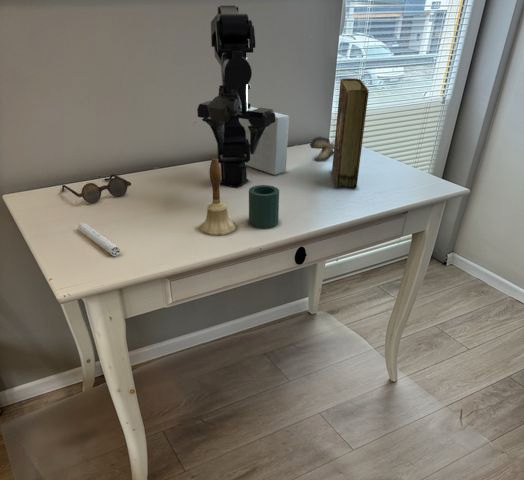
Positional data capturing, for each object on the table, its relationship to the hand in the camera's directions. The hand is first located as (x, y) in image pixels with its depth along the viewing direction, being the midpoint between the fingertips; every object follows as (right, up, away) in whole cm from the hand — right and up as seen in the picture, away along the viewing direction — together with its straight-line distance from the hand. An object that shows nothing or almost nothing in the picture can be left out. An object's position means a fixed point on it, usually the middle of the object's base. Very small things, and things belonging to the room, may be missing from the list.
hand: (236, 151), depth 122 cm
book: (+30, +1, +23) cm, 38 cm away
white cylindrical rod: (-31, -25, -11) cm, 41 cm away
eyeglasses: (-39, -6, +13) cm, 42 cm away
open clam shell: (+27, +14, +40) cm, 50 cm away
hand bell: (-4, -21, -5) cm, 22 cm away
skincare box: (+5, +8, +32) cm, 34 cm away
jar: (+7, -18, -2) cm, 20 cm away
